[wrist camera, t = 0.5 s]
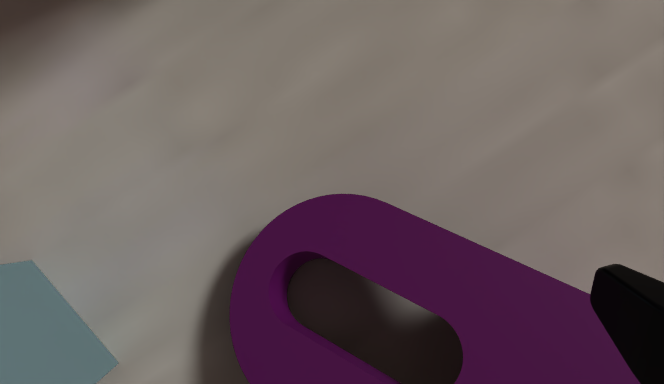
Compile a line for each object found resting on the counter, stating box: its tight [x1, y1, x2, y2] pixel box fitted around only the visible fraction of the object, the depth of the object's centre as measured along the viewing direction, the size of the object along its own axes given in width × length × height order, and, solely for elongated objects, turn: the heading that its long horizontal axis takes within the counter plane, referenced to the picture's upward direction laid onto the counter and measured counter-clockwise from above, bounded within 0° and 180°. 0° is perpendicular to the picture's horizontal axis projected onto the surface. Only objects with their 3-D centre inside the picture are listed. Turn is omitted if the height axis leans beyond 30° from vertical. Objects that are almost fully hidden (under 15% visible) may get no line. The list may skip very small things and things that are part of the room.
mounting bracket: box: [230, 194, 640, 384], centre depth 24 cm, size 9×8×18 cm
